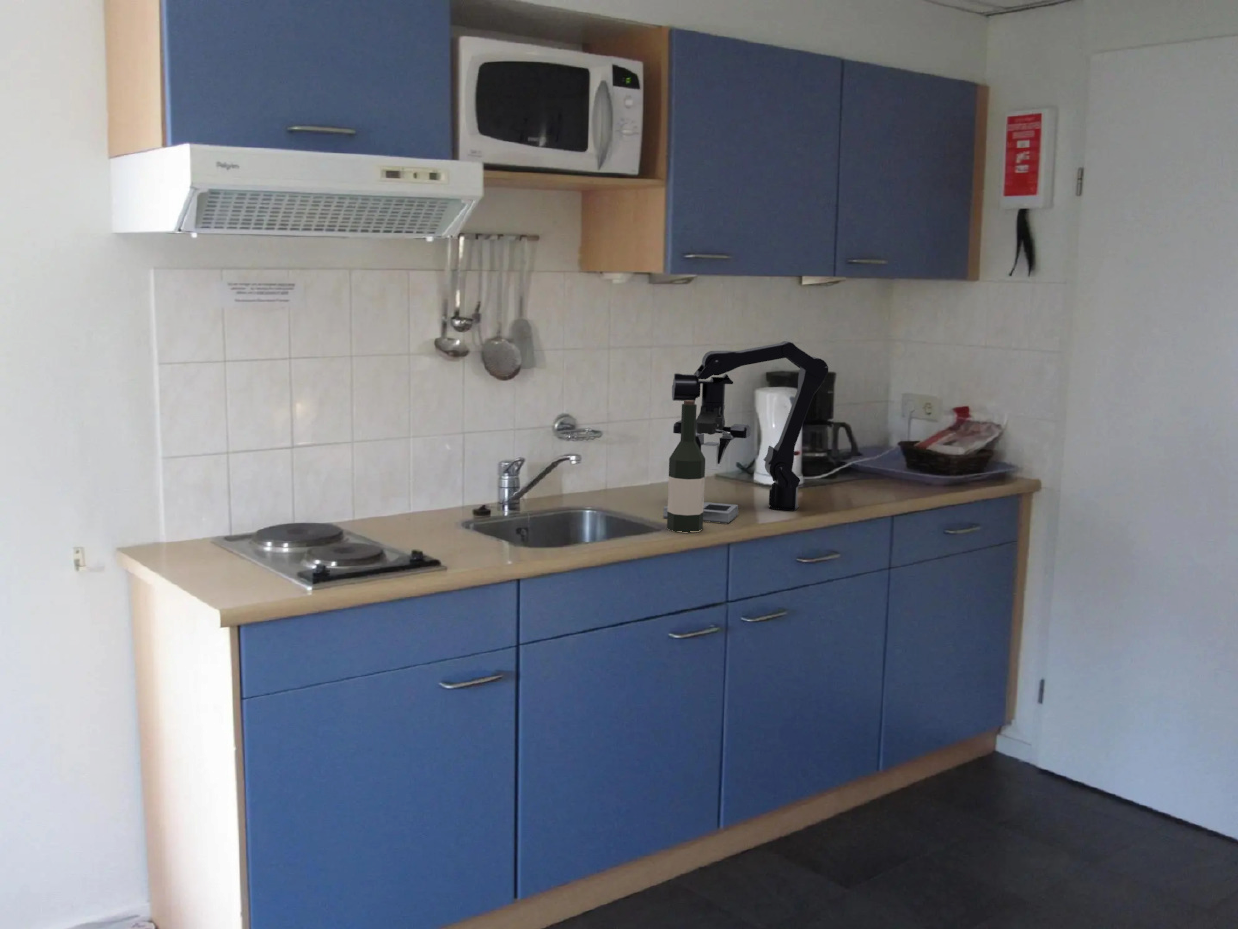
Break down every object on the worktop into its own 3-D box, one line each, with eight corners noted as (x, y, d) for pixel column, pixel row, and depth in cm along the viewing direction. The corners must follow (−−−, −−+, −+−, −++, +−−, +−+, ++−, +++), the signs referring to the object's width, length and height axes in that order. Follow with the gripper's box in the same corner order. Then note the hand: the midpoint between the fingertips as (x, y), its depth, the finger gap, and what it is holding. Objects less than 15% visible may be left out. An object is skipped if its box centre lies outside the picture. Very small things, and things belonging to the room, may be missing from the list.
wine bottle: (687, 534, 277) (692, 403, 272) (659, 528, 282) (663, 400, 278) (710, 529, 283) (715, 401, 278) (682, 523, 289) (686, 397, 284)
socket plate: (737, 515, 300) (738, 502, 300) (727, 524, 290) (728, 510, 289) (675, 509, 305) (675, 497, 304) (663, 518, 295) (663, 505, 294)
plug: (720, 467, 309) (721, 442, 308) (715, 470, 305) (716, 445, 304) (704, 465, 311) (705, 441, 310) (700, 468, 306) (701, 443, 305)
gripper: (668, 402, 300) (666, 464, 303) (742, 407, 295) (740, 470, 297) (680, 398, 311) (677, 458, 313) (752, 402, 305) (749, 464, 308)
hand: (710, 463), depth 307 cm, fingers closed on plug, 4 cm apart
